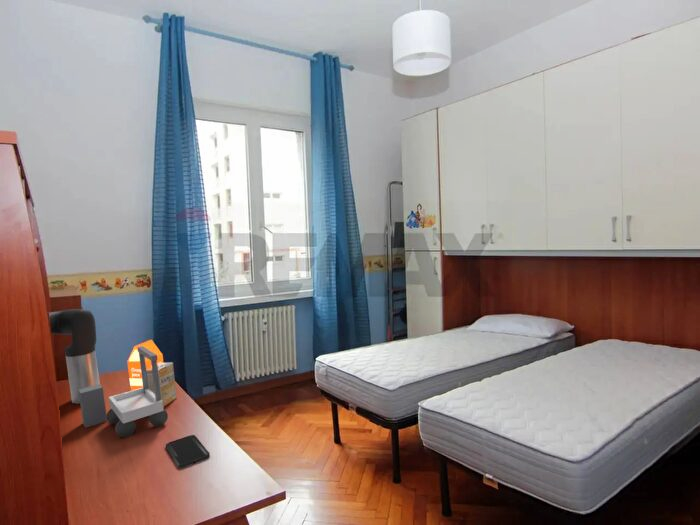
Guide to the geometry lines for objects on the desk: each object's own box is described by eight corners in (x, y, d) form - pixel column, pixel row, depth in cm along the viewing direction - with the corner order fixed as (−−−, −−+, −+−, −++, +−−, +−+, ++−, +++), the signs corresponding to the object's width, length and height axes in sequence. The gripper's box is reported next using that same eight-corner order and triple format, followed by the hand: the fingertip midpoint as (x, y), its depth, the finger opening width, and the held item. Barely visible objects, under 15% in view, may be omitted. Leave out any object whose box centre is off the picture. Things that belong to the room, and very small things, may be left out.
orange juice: (167, 392, 158) (161, 339, 156) (150, 402, 150) (143, 346, 148) (149, 392, 160) (142, 339, 158) (131, 402, 152) (124, 346, 150)
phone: (193, 434, 122) (210, 454, 109) (194, 437, 122) (211, 458, 110) (164, 444, 117) (178, 466, 105) (164, 448, 117) (178, 470, 105)
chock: (83, 423, 137) (78, 389, 136) (104, 416, 141) (100, 384, 140) (85, 427, 133) (80, 393, 132) (107, 421, 137) (102, 387, 136)
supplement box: (163, 408, 144) (158, 370, 143) (150, 408, 145) (145, 370, 144) (177, 398, 152) (173, 361, 151) (165, 398, 153) (161, 362, 152)
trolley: (106, 423, 135) (97, 355, 134) (153, 408, 144) (145, 344, 142) (119, 442, 122) (109, 367, 120) (170, 425, 130) (162, 354, 128)
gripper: (-26, 429, 113) (49, 408, 123) (-24, 413, 124) (45, 396, 134) (-21, 456, 114) (53, 434, 124) (-20, 438, 125) (48, 419, 135)
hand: (48, 414), depth 129 cm, fingers open, 8 cm apart
